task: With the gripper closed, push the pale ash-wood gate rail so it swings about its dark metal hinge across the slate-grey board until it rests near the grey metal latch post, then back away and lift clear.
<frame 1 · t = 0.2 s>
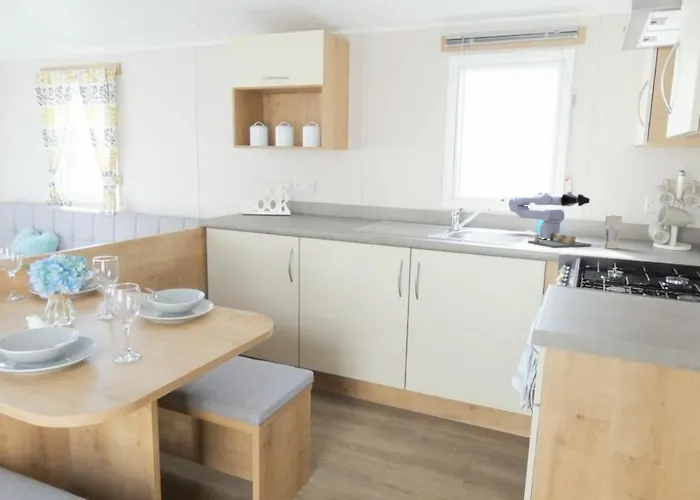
hand: (582, 200, 261), 21 cm above the table, tool horizontal, fingers open, 7 cm apart
gate board: (559, 244, 264), on the table
gate: (562, 238, 263), point 3 cm above the table, hinge at 0.0°
beer glass: (611, 248, 255), on the table
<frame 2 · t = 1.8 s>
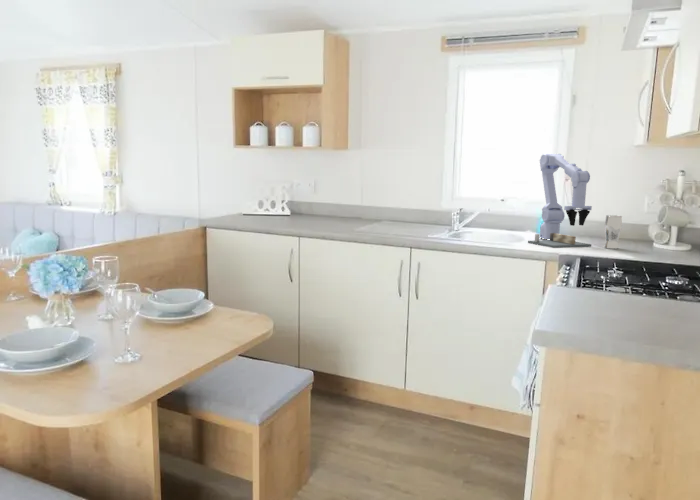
hand: (576, 225, 262), 9 cm above the table, tool pointing down, fingers open, 5 cm apart
nothing on the table moved.
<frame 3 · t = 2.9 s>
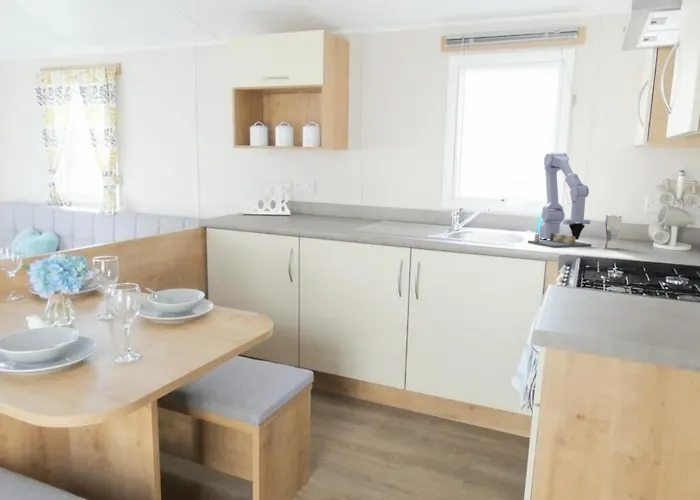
hand: (575, 239, 263), 3 cm above the table, tool pointing down, fingers closed
nothing on the table moved.
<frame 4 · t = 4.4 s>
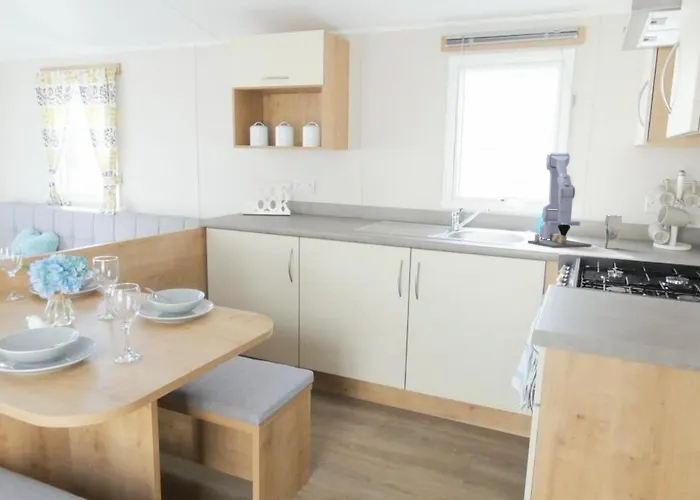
hand: (562, 240, 261), 2 cm above the table, tool pointing down, fingers closed, pressing on gate
gate: (557, 238, 263), point 3 cm above the table, hinge at 19.1°, touching gripper
everything else where it was.
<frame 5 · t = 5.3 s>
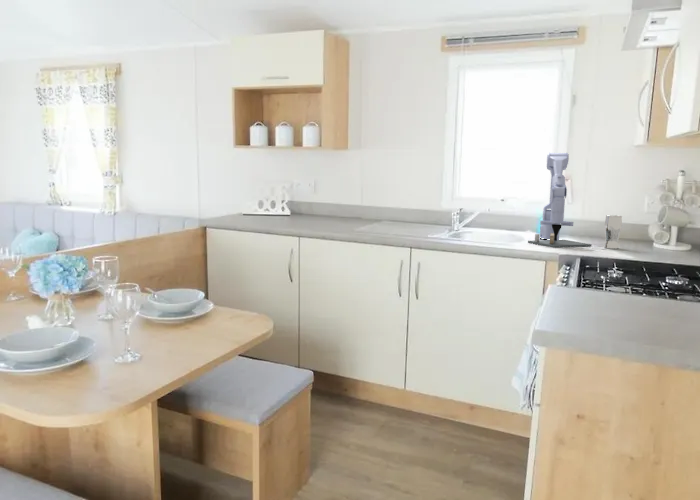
hand: (555, 240, 261), 2 cm above the table, tool pointing down, fingers closed, pressing on gate
gate: (552, 238, 263), point 3 cm above the table, hinge at 41.9°, touching gripper
everything else where it was.
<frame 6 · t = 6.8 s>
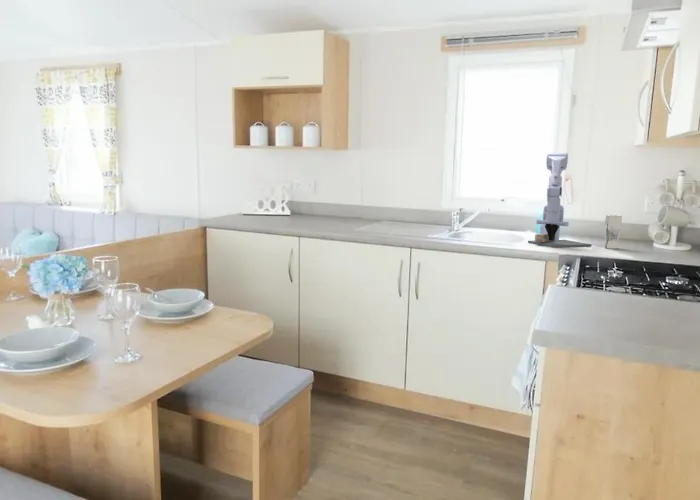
hand: (551, 240, 261), 2 cm above the table, tool pointing down, fingers closed
gate: (546, 237, 265), point 3 cm above the table, hinge at 66.2°
everything else where it was.
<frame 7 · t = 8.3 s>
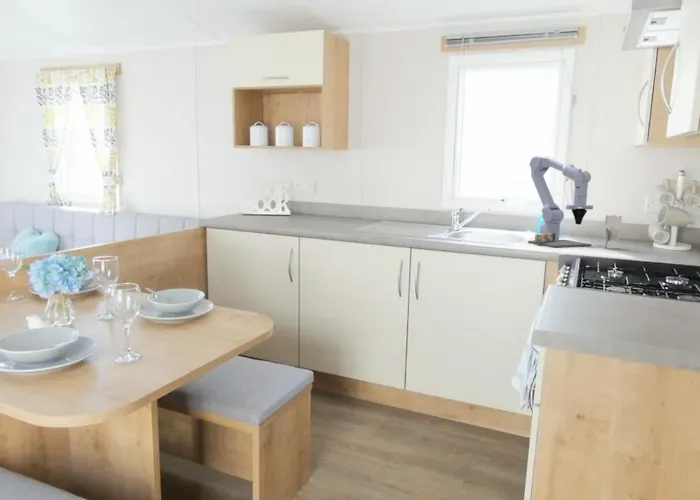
hand: (578, 224, 268), 9 cm above the table, tool pointing down, fingers closed
nothing on the table moved.
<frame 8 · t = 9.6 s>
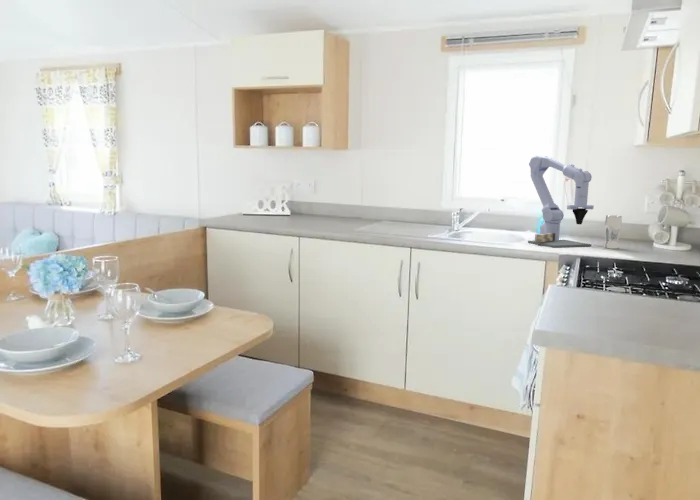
hand: (579, 224, 269), 9 cm above the table, tool pointing down, fingers closed
nothing on the table moved.
at the end: gate at +66° (first picture: +0°) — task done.
